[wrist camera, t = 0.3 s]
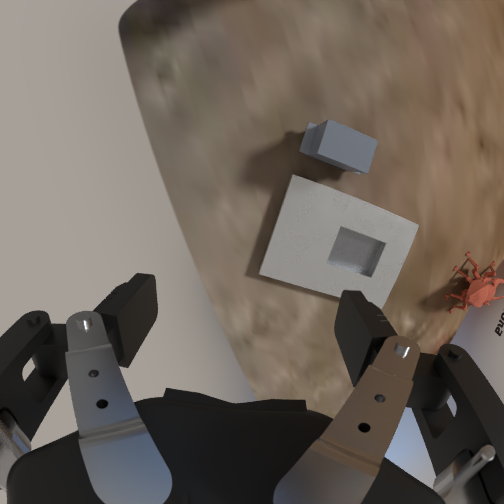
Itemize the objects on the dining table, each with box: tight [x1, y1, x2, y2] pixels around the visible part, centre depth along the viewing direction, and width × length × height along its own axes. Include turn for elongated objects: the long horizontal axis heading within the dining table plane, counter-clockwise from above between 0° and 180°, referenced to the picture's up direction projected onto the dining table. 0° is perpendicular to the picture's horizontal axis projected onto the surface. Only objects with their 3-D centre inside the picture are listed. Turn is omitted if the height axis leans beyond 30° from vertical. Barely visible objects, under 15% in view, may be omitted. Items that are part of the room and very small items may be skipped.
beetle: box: [446, 251, 504, 336], centre depth 35 cm, size 15×12×13 cm
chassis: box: [259, 174, 419, 309], centre depth 38 cm, size 14×20×2 cm
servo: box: [299, 119, 378, 175], centre depth 31 cm, size 4×8×8 cm, turn 73°
